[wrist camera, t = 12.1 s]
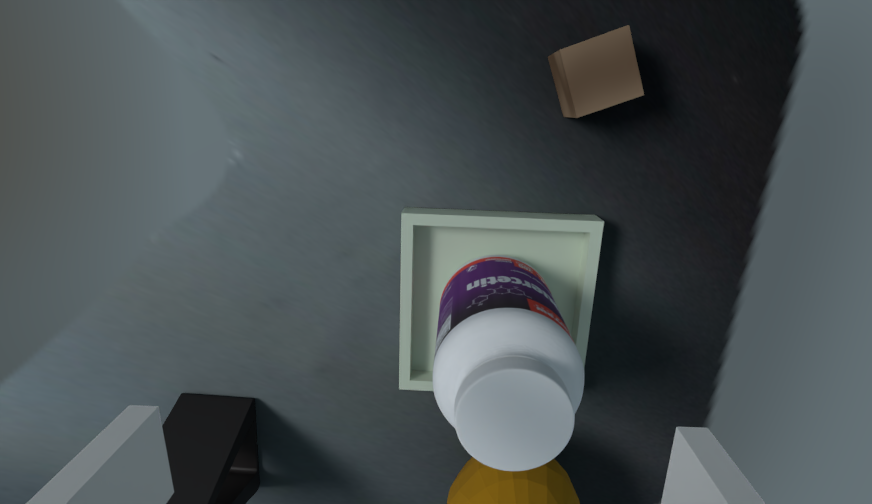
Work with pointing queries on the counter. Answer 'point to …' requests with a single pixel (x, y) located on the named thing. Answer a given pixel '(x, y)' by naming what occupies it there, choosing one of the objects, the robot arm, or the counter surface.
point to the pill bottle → (506, 364)
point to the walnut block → (596, 73)
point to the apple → (512, 485)
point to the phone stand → (212, 449)
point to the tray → (479, 236)
